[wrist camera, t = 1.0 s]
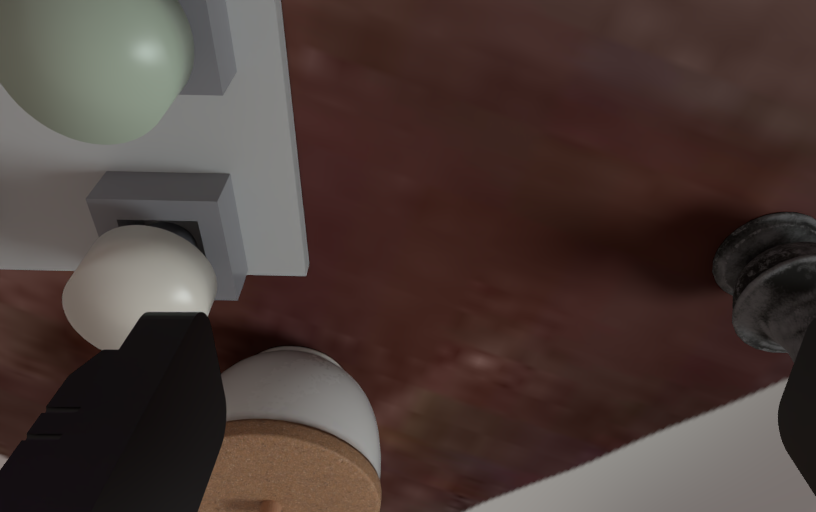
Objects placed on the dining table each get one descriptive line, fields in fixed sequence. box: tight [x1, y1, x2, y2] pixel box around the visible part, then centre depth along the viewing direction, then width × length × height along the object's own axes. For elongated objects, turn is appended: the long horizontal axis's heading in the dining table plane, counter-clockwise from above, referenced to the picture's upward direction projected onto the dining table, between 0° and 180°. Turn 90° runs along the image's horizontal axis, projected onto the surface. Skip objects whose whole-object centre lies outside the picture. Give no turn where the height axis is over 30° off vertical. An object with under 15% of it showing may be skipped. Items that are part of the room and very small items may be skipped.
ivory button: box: [62, 222, 217, 350], centre depth 27 cm, size 5×5×5 cm
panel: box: [0, 0, 309, 300], centre depth 25 cm, size 18×22×3 cm
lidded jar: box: [198, 346, 381, 512], centre depth 34 cm, size 11×11×9 cm
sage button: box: [0, 0, 194, 145], centre depth 20 cm, size 5×5×5 cm
